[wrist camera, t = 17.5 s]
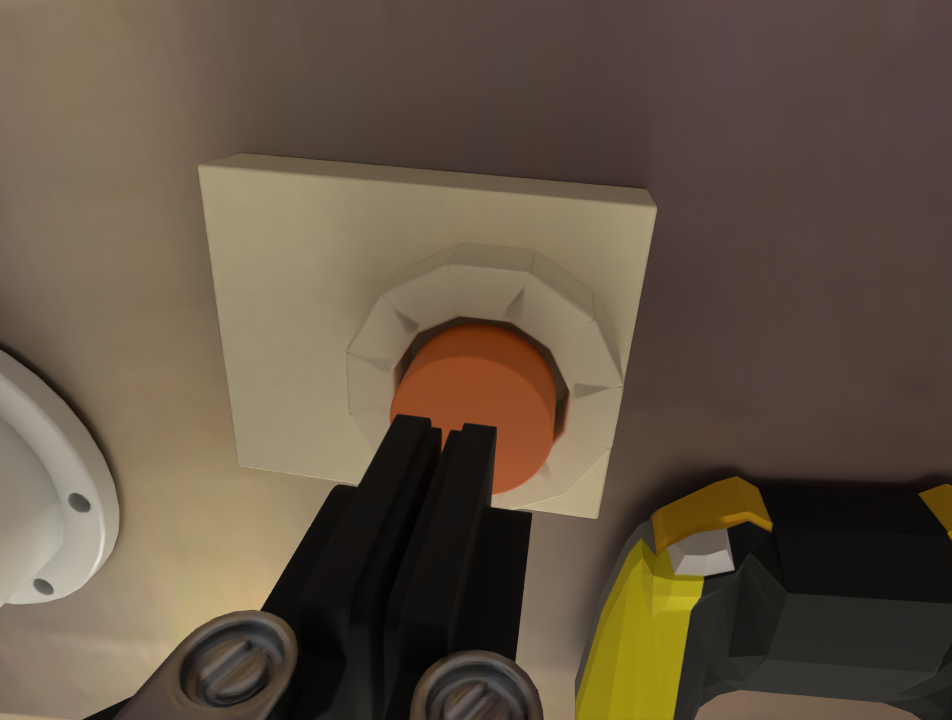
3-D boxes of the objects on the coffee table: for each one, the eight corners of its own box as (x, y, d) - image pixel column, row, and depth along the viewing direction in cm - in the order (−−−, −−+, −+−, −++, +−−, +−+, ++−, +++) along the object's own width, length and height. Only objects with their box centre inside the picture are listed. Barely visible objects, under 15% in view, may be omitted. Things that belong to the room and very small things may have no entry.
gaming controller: (1012, 712, 21) (1124, 477, 17) (1142, 907, 16) (1345, 645, 12) (574, 673, 24) (576, 459, 19) (573, 832, 19) (575, 592, 14)
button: (407, 443, 16) (389, 485, 14) (410, 314, 14) (388, 345, 13) (547, 463, 15) (543, 508, 14) (565, 332, 14) (563, 366, 12)
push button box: (269, 428, 21) (205, 504, 17) (240, 152, 17) (149, 176, 13) (596, 474, 20) (599, 566, 16) (648, 188, 16) (668, 225, 12)
